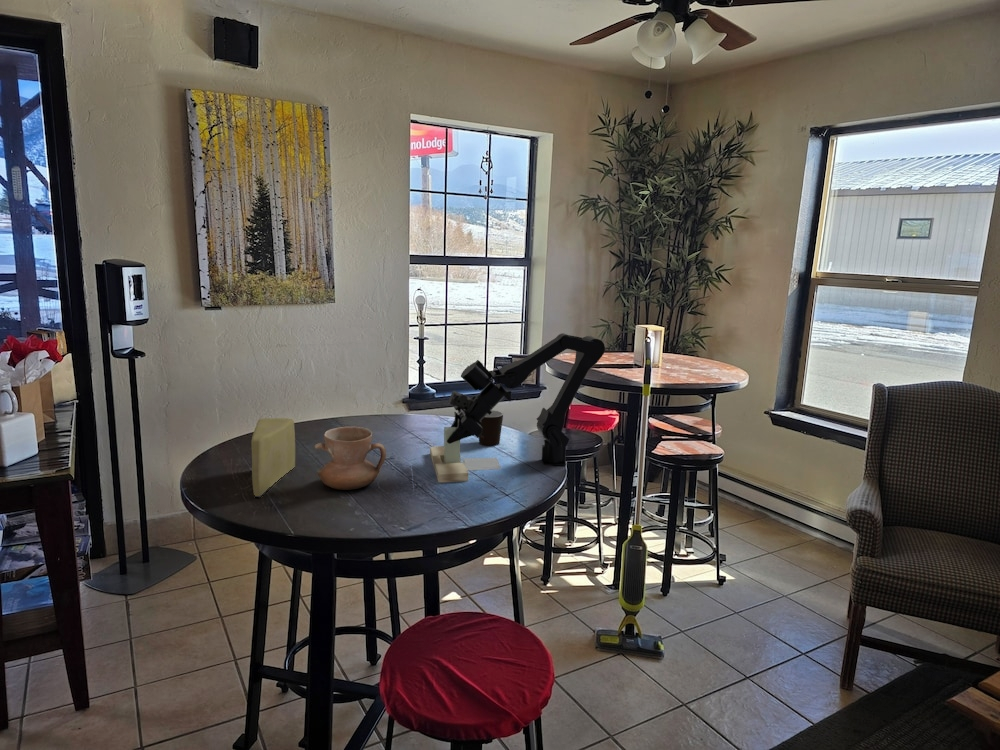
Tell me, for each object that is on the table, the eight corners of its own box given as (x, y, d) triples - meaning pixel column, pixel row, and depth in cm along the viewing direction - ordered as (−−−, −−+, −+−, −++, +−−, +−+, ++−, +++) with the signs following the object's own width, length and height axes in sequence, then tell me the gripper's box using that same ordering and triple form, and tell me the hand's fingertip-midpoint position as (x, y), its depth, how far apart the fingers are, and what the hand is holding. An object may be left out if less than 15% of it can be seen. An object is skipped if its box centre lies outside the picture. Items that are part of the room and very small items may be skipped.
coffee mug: (500, 448, 200) (501, 417, 198) (473, 447, 202) (473, 416, 200) (506, 438, 212) (506, 408, 210) (480, 436, 213) (480, 407, 211)
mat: (496, 458, 191) (496, 457, 191) (502, 470, 182) (502, 469, 182) (463, 459, 190) (463, 458, 190) (466, 471, 180) (466, 470, 180)
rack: (456, 453, 195) (456, 445, 195) (468, 481, 172) (468, 472, 172) (430, 454, 194) (430, 446, 193) (438, 483, 171) (438, 474, 170)
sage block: (458, 460, 185) (458, 426, 183) (459, 464, 181) (459, 430, 179) (444, 460, 184) (444, 427, 182) (445, 465, 181) (445, 431, 179)
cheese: (277, 498, 159) (274, 440, 156) (236, 499, 158) (233, 440, 155) (296, 468, 180) (294, 416, 177) (261, 468, 179) (258, 416, 176)
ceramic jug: (311, 495, 161) (310, 441, 158) (319, 474, 175) (318, 424, 172) (384, 494, 163) (384, 441, 160) (386, 474, 177) (387, 424, 174)
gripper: (461, 375, 188) (423, 413, 188) (471, 389, 170) (429, 431, 170) (487, 400, 191) (450, 437, 191) (499, 416, 173) (459, 458, 173)
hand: (447, 440), depth 181 cm, fingers closed on sage block, 4 cm apart
